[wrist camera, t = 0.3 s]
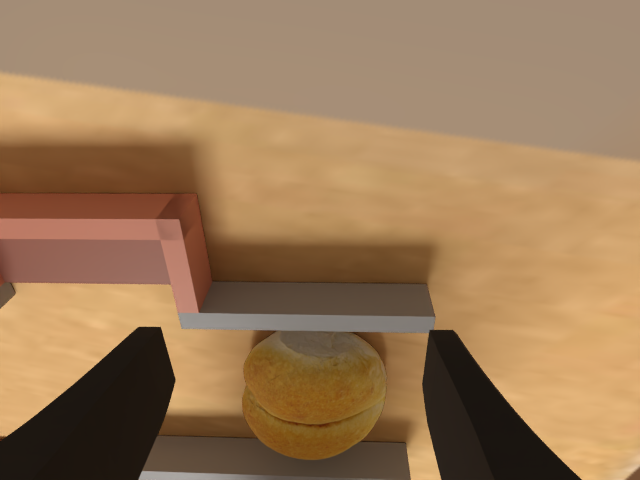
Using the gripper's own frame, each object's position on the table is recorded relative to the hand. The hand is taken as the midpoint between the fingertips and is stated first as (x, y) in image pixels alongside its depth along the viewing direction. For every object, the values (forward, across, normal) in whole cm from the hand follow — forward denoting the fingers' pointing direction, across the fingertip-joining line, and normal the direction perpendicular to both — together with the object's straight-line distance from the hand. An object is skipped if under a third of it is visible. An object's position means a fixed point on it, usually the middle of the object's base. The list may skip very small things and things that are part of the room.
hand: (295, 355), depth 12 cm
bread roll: (+10, +1, +12) cm, 15 cm away
